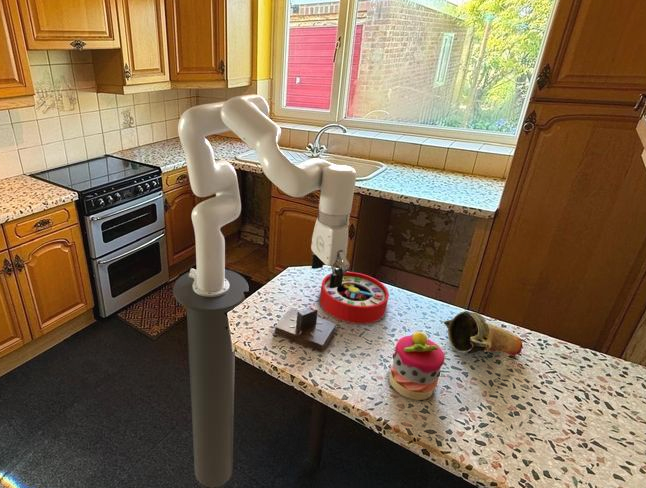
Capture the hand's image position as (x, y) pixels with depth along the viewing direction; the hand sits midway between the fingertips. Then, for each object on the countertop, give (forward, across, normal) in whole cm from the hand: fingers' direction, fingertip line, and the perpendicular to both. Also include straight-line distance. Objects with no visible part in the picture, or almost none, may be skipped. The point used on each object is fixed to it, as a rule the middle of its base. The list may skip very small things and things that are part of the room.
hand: (325, 277), depth 104 cm
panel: (+19, -2, -3) cm, 19 cm away
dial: (+17, -2, -3) cm, 17 cm away
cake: (+19, +22, +13) cm, 32 cm away
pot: (+19, +17, +38) cm, 46 cm away
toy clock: (+19, -11, +17) cm, 28 cm away
